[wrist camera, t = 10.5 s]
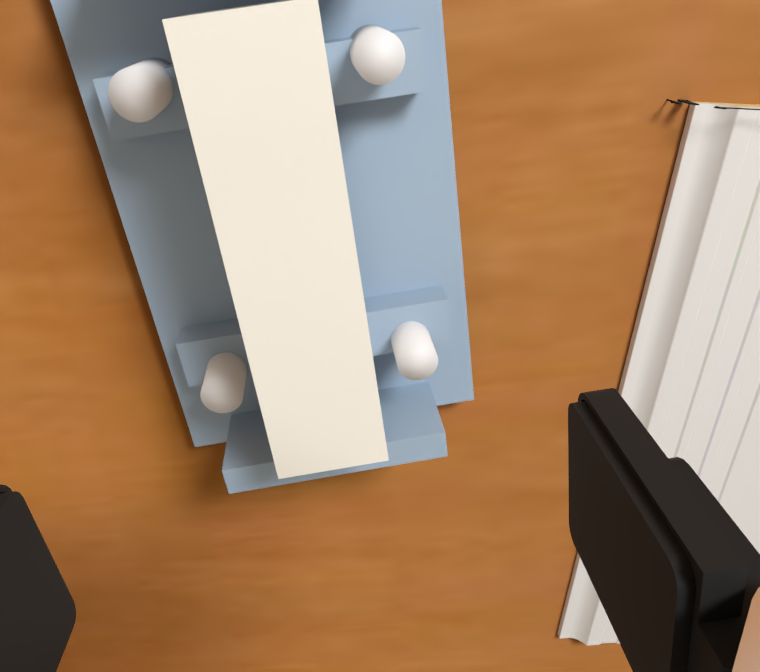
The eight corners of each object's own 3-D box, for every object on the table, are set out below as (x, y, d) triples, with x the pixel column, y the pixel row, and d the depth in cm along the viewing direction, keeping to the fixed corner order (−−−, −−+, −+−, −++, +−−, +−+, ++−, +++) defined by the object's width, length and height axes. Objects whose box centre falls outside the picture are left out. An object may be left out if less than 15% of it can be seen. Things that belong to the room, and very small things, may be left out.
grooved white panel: (531, 626, 42) (713, 617, 43) (546, 668, 39) (739, 657, 40) (650, 95, 28) (914, 108, 29) (686, 106, 25) (974, 119, 26)
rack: (45, -51, 23) (-20, -62, 18) (426, -107, 23) (457, -132, 18) (198, 432, 32) (181, 506, 27) (468, 386, 32) (496, 451, 28)
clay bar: (190, 13, 22) (161, 19, 17) (314, -5, 22) (317, -4, 17) (282, 403, 29) (278, 479, 24) (375, 388, 29) (388, 460, 24)
